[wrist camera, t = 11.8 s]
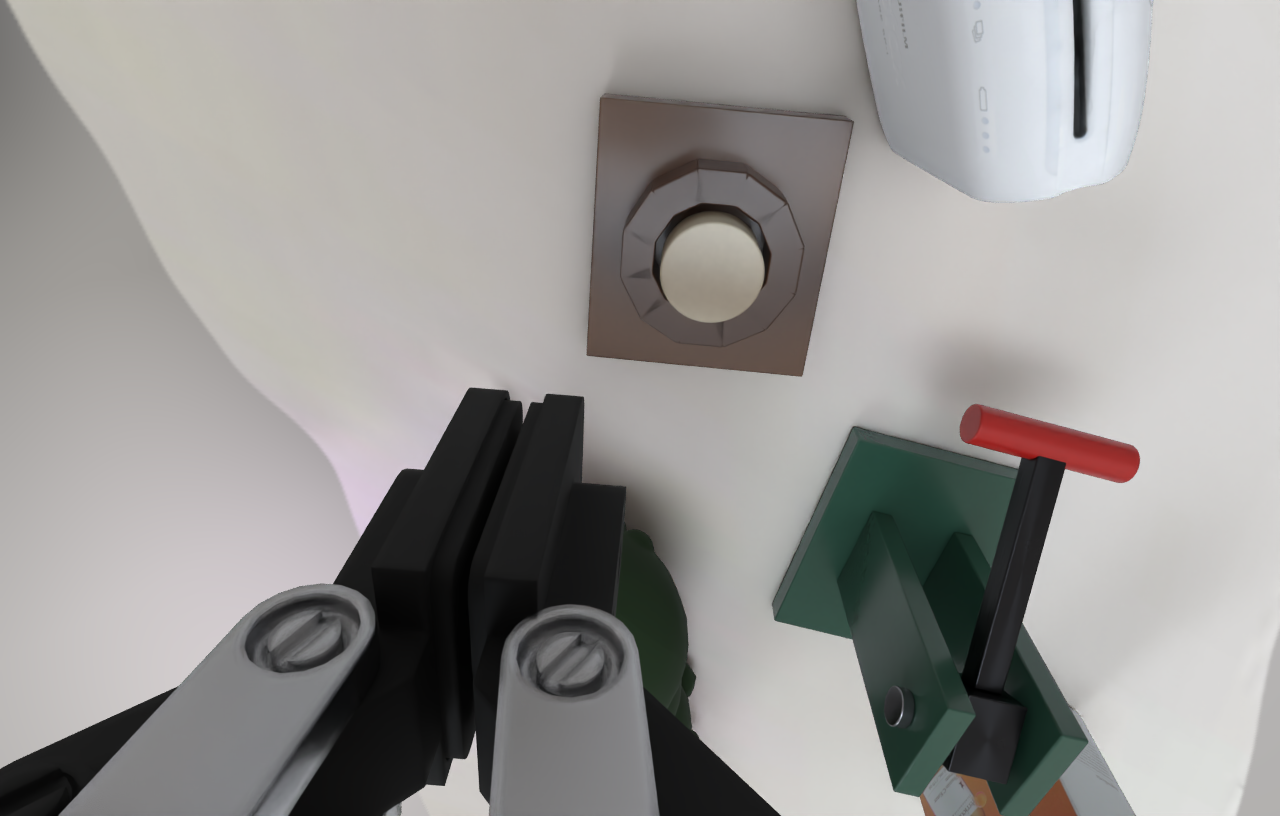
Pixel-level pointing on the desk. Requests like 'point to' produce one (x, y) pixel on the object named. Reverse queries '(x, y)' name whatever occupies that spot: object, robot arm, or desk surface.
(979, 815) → the small box
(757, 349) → the button block
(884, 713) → the bracket
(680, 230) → the button
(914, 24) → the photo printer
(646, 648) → the toy figurine
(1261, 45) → the desk surface
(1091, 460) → the lever
